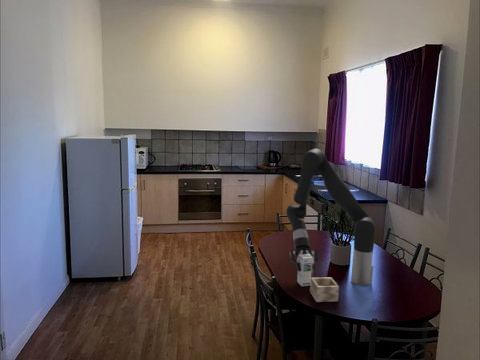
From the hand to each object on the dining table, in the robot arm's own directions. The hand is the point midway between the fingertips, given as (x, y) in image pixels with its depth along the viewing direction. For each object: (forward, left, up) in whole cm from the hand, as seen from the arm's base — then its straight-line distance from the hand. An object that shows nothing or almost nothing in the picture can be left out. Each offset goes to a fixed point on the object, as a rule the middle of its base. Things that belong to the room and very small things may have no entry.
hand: (306, 270), depth 188 cm
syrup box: (0, -2, -8) cm, 8 cm away
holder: (-5, +12, -7) cm, 15 cm away
